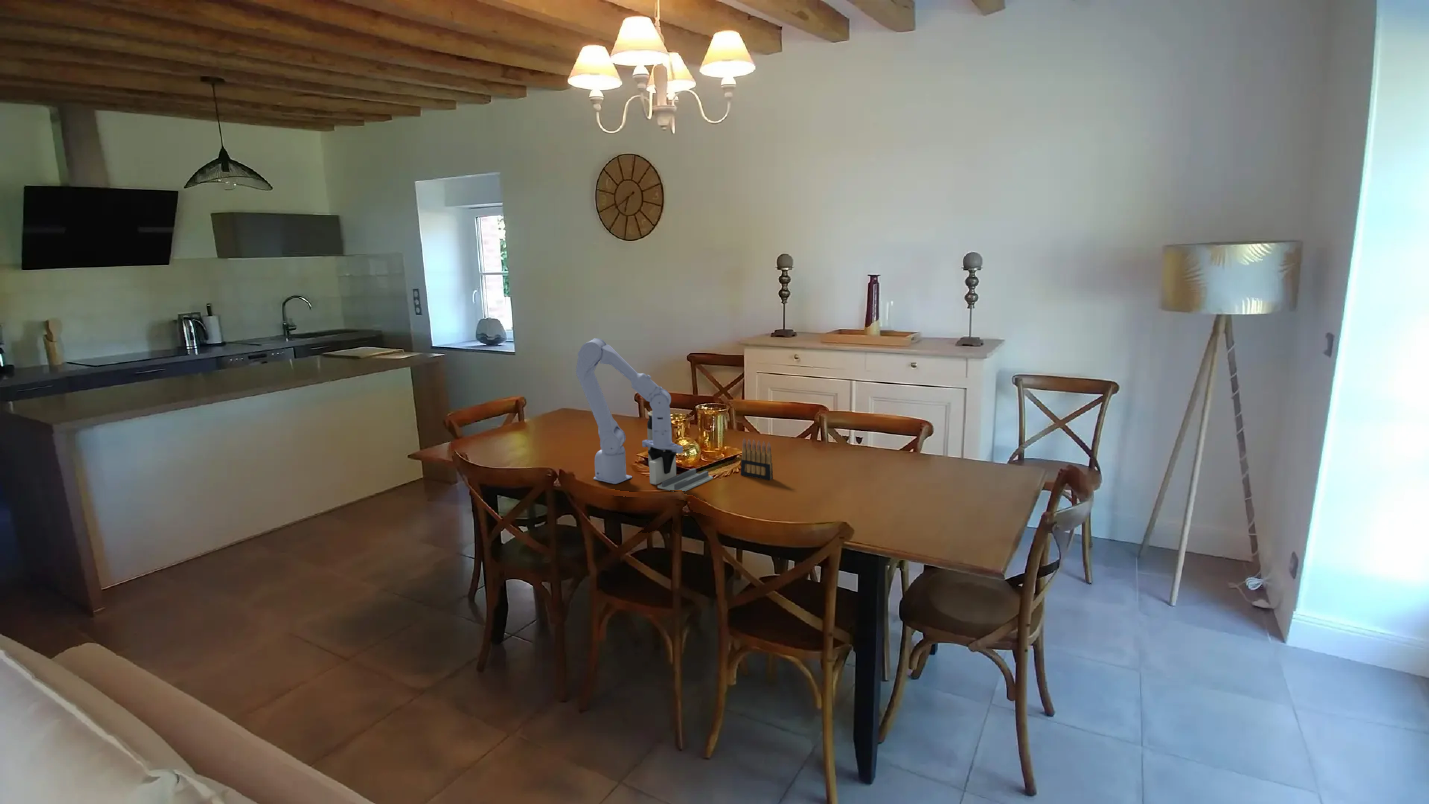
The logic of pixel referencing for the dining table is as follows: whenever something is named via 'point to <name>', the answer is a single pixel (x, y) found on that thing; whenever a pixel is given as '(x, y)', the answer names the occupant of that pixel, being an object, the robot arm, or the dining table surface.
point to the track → (685, 480)
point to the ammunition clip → (756, 460)
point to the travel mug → (649, 430)
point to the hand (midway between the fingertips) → (663, 472)
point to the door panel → (660, 471)
